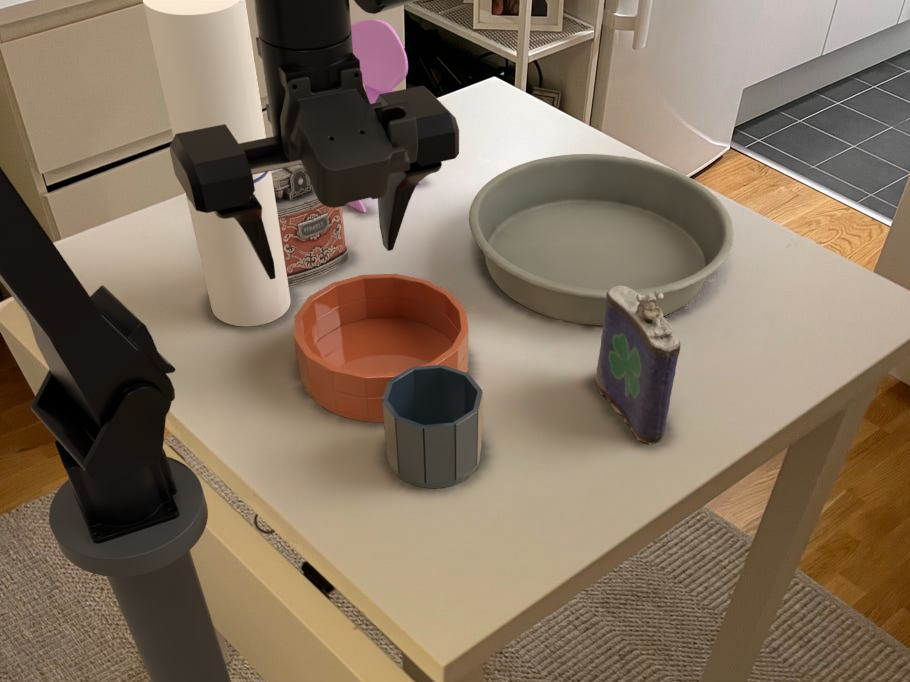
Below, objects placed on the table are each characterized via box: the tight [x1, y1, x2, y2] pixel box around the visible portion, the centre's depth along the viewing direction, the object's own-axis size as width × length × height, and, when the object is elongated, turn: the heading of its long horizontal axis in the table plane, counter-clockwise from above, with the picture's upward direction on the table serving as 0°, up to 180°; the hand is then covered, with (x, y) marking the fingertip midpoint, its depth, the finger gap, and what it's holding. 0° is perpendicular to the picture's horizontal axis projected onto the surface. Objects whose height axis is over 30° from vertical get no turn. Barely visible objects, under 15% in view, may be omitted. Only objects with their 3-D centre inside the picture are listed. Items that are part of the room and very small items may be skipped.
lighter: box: [271, 164, 350, 286], centre depth 90 cm, size 8×3×10 cm, turn 130°
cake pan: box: [468, 153, 735, 326], centre depth 94 cm, size 25×25×4 cm
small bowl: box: [382, 365, 484, 489], centre depth 76 cm, size 7×8×6 cm
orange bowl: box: [293, 273, 469, 423], centre depth 83 cm, size 14×14×4 cm
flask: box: [594, 286, 681, 446], centre depth 78 cm, size 9×3×11 cm, turn 24°
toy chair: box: [346, 18, 422, 214], centre depth 97 cm, size 8×9×15 cm
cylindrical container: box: [142, 0, 291, 327], centre depth 81 cm, size 7×7×25 cm
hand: (330, 262), depth 74 cm, fingers open, 9 cm apart
